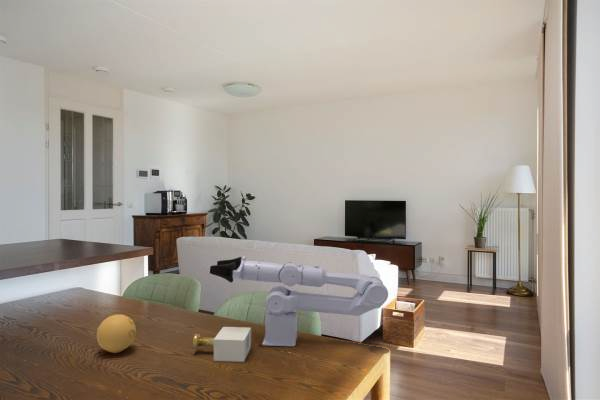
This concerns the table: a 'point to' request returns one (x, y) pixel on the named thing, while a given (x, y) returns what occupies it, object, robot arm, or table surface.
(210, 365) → the table surface
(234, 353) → the block
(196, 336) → the pin
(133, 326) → the stress ball
